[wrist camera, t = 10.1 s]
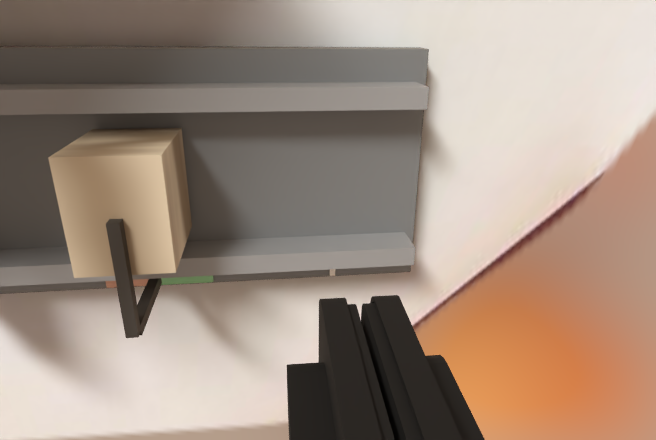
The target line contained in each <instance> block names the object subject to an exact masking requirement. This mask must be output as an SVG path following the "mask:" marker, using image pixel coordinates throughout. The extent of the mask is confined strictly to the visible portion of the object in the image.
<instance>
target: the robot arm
mask: <svg viewBox="0 0 656 440" xmlns="http://www.w3.org/2000/svg"><path fill="white" fill-rule="evenodd" d="M287 390H288V420H289V440H484V438H483V436H482V434H481V431H480V429H479V427H478V425H477V424H476V421H475V419H474V417H473V415H472V413H471V411H470V409H469V407H468V405H467V403H466V401H465V399H464V397H463V395H462V393H461V391H460V389H459V387H458V385H457V383H456V381H455V379H454V377H453V375H452V373H451V371H450V369H449V366H448V365H447V363H446V361H445V359H444V358H443V357H442V356H441V355H433V356H425V354H424V352H423V350H422V347H421V345H420V343H419V341H418V338H417V336H416V334H415V332H414V329H413V327H412V325H411V322H410V320H409V318H408V316H407V313H406V311H405V309H404V307H403V304H402V302H401V300H400V298H399V296H397V295H393V296H373V297H372V298H371V303H369V304H363V305H362V314H361V320H360V317H359V313H358V310H357V306H356V305H355V304H350V305H347V301H346V298H333V299H320V300H319V363H306V364H291V365H287Z"/></svg>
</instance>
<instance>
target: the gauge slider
mask: <svg viewBox="0 0 656 440" xmlns="http://www.w3.org/2000/svg"><path fill="white" fill-rule="evenodd" d="M48 159H49V164H50V168H51V173H52V178H53V182H54V187H55V192H56V196H57V201H58V205H59V210H60V215H61V219H62V224H63V229H64V233H65V238H66V242H67V247H68V252H69V256H70V261H71V266H72V270H73V275H74V278H84V277H103V276H115V279H116V285H117V290H118V296H119V302H120V307H121V313H122V318H123V324H124V329H125V335H126V338H134V337H139V335H142V334H143V331H144V328H145V326H146V323H147V320H148V318H149V315H150V312H151V310H152V307H153V305H154V302H155V299H156V297H157V294H158V291H159V289H160V286H161V284H162V279H161V278H156V279H149V280H148V282H147V284H146V286H145V289H144V291H143V293H142V296H141V298H140V300H139V302H138V305H137V302H136V296H135V290H134V284H133V278H132V275H143V274H162V273H176V271H177V268H178V265H179V262H180V259H181V257H182V254H183V251H184V248H185V245H186V242H187V239H188V236H189V233H190V230H191V227H192V222H191V212H190V203H189V194H188V184H187V175H186V165H185V156H184V147H183V137H182V128H143V129H92V130H90V131H89V132H87V133H86V134H84V135H83V136H81V137H79V138H78V139H76V140H75V141H73V142H72V143H70V144H69V145H67V146H65V147H64V148H62V149H61V150H59V151H58V152H56V153H55V154H53V155H51V156H50V157H48Z"/></svg>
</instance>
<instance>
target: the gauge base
mask: <svg viewBox="0 0 656 440" xmlns="http://www.w3.org/2000/svg"><path fill="white" fill-rule="evenodd" d="M428 52H429V49H424V48H381V47H49V46H0V294H5V293H24V292H43V291H61V290H80V289H99V288H117V285H116V279H115V276H103V277H84V278H74V275H73V270H72V266H71V261H70V256H69V252H68V247H67V242H66V238H65V233H64V229H63V224H62V219H61V215H60V210H59V205H58V201H57V196H56V192H55V187H54V182H53V178H52V173H51V168H50V164H49V159H48V157H50V156H51V155H53V154H55V153H56V152H58V151H59V150H61V149H62V148H64V147H65V146H67V145H69V144H70V143H72V142H73V141H75V140H76V139H78V138H79V137H81V136H83V135H84V134H86V133H87V132H89V131H90V130H92V129H143V128H182V137H183V147H184V156H185V165H186V175H187V184H188V194H189V203H190V212H191V222H192V227H191V230H190V233H189V236H188V239H187V242H186V245H185V248H184V251H183V254H182V257H181V259H180V262H179V265H178V268H177V271H176V273H162V274H143V275H132V278H133V284H134V287H136V286H146V284H147V282H148V280H149V279H156V278H161V279H162V284H161V285H173V284H192V283H210V282H229V281H248V280H266V279H285V278H303V277H322V276H341V275H359V274H378V273H396V272H410V269H411V265H414V257H415V246H414V245H413V233H414V221H415V209H416V197H417V185H418V172H419V160H420V148H421V136H422V124H423V112H424V110H427V106H428V94H429V87H428V86H426V76H427V64H428Z"/></svg>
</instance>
